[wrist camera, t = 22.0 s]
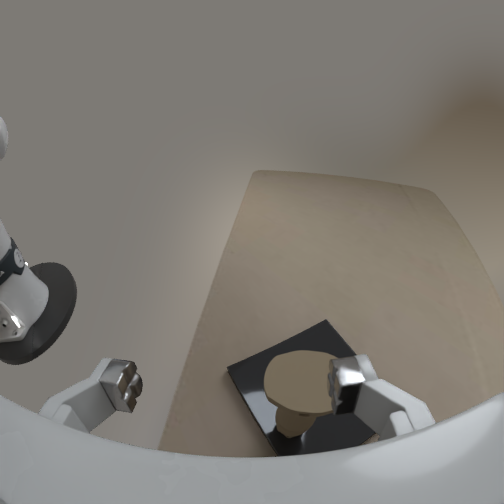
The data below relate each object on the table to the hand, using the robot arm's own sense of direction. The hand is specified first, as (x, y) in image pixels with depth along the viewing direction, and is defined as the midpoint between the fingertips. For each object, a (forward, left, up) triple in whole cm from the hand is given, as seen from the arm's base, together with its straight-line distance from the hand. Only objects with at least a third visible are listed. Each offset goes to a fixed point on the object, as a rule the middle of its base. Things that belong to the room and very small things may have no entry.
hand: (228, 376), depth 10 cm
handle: (+6, 0, -23) cm, 23 cm away
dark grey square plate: (+10, +2, -23) cm, 26 cm away
